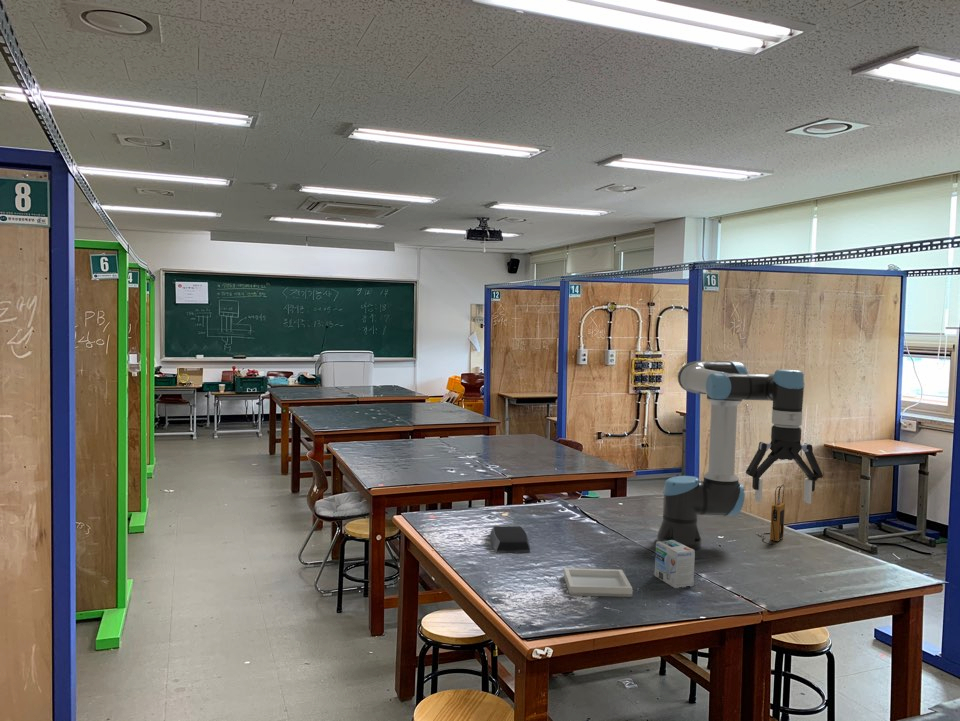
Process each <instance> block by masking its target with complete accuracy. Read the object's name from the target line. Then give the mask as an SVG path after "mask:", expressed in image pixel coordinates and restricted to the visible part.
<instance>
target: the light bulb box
mask: <svg viewBox="0 0 960 721" xmlns="http://www.w3.org/2000/svg"><path fill="white" fill-rule="evenodd" d="M695 552H696V549H694V550H693V549H691V548H689V547H687V546H685V545H683V544H681V543H679V542H677V541H675V540H668V541H659V542H657V541H656V542H655V555H654V557H655V558H654V576H655V577H656V578H658V579H659V580H660V581H663V582H664V583H666V584H667V585H669V586H671V587H673V589H680V588H679V587H682V588H687V587H686V586H690V587H694V585H695V584H694V580H695V559H696V556H695V555H696V553H695Z"/></svg>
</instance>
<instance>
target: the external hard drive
mask: <svg viewBox="0 0 960 721" xmlns="http://www.w3.org/2000/svg"><path fill="white" fill-rule="evenodd" d="M489 533H490V534H489V542H490V544H491V547H492V549H493V551H494V553H531V547H530V542H529V539H528V536H527V532H526V531H525V530H524V528H523V527H522V526H519V525H518V526H517V525H516V526H508V525H507V526H498V525H495V526H493V527H492V529H491V531H490V532H489Z"/></svg>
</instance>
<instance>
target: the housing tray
mask: <svg viewBox="0 0 960 721" xmlns="http://www.w3.org/2000/svg"><path fill="white" fill-rule="evenodd" d="M563 578H564V581H565V583H566V587H567V590H568V593H569V596H585V597H615V598H616V597H619V598H620V597H621V598H622V597H623V598H633V589H634V588H633V586H632V585H631V583H630V581H629V579H628V578H627V576H626V574H625V573H624V571H623V569H613V568H612V569H609V568H605V569H604V568H578V567H577V568H576V567H575V568H573V567H564V568H563Z"/></svg>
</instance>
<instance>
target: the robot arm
mask: <svg viewBox="0 0 960 721" xmlns="http://www.w3.org/2000/svg"><path fill="white" fill-rule="evenodd" d="M804 375H805V374H804V372H803V371H801V370H795V369H776V370H775V371H774V372H773V373H762V374H761V373H758V374H757V373H755V374H753V373H749V371H748V369H747V368H746V366H745V365H744V364H743V362H741V361H740V362H739V361H730V360H723V361H722V360H695V361H690V362H688V363H685V364H684V365H683V366H682V367H680V369H679V371H678V374H677V382H678V384H679V386H680V388H681V389H682V390H685V391H686V392H688V393H693V394H697V395H698V394H699V395H700V394H702V395H706V399H707V401H708V402H709V403H710V425H709V450H708V469H707V470H708V471H707V472H706V473H705V474H703V480H701V481H700V479H699V478H698V477H697V476H694V475H677V476H672V477H669V478H668V479H666V480H665V481H664V484H663V485H664V486H663V491H662V492H663V501H662V502H663V503H662V504H663V506H662V509H663V510H662V521H661V524H660V526H659V528H658V532H657V535H656V542H659V541H668V540H675V541H677V542H679V543H681V544H683V545H685V546H687V547H689V548H691V549H693V550H697V549H698V550H699V549H701V548H702V545H703V544H702V542H703V541H702V540H703V539H702V536H701V532H700V530H699V526H698V516H723V517H727V516H737V515H738V514H739V513H740V512H742V509H743V507H744V503H745V498H746V496H745V495H746V493H745V487H744V484H742V482H740V481H739V477H738V476H737V475H736V474H735V467H736V466H735V465H736V464H735V463H736V443H737V442H736V440H737V438H736V437H737V423H738V422H737V419H738V418H737V417H738V405H739V404H741V403H742V402H743V400H744V401H770V402H772V409H771V410H772V412H771V423H772V426H771V432H770V434H771V435H770V439H771V440H770V443H768V442H767V443H766V442H764V441H760V442H759V443H758V447H757V448H758V449H757V451H756V452H755V454H754V456H753V458H752V460H751V462H750V464H749V465H748V467H746V468H747V469H746V470H745V474H746V475H748V476H749V477H752V483H751V485H752V486H751V488H752V489H753V490H754V501H756V503H759V504H760V503H762V502H763V501H762V496H763V483H764V482H763V478H761V477H762V476H763V475H764V474H765V473H766V471H767V470H769V468H771V466H772V465H773V464H774V463H775V462H776V461H778V460H780V461H782V460H783V461H784V460H788V461H793V460H794V461H795V463H796V464H797V466H798V467H799V468H800V469H801V471H802V472H803V473H804V474H805V475H806V478H804V484H803V485H804V486H803V502H804V503H806V504H807V505H812V493H813V492H815V490H816V481H818V479H822V478H824V475H823V472H822V470H821V467H820V466H819V462H818V461H817V459H816V457H815V454H814V452H813V451H814V448H813V445H812V444H810V443H808V442H805V443H804V444H803V443H802V444H801V440H802V428H801V426H802V425H803V424H802V423H803V405H804V404H803V402H804V393H805V392H804V388H805V379H804V377H805V376H804ZM769 449H770V452H769V454H768V455H767V457H766V458H765V459H764V460H763V458H764V457H765V455H766V453H767V452H768V450H769ZM801 451H802V452H804V455H805V457H806V459H807V461H808V464H809V466H810V467H809V466H808V465H807V464H806V462H805V461H804V460H803V457H801V455H800V454H799V453H800V452H801ZM762 460H763V461H762ZM810 468H811V469H810Z"/></svg>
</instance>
